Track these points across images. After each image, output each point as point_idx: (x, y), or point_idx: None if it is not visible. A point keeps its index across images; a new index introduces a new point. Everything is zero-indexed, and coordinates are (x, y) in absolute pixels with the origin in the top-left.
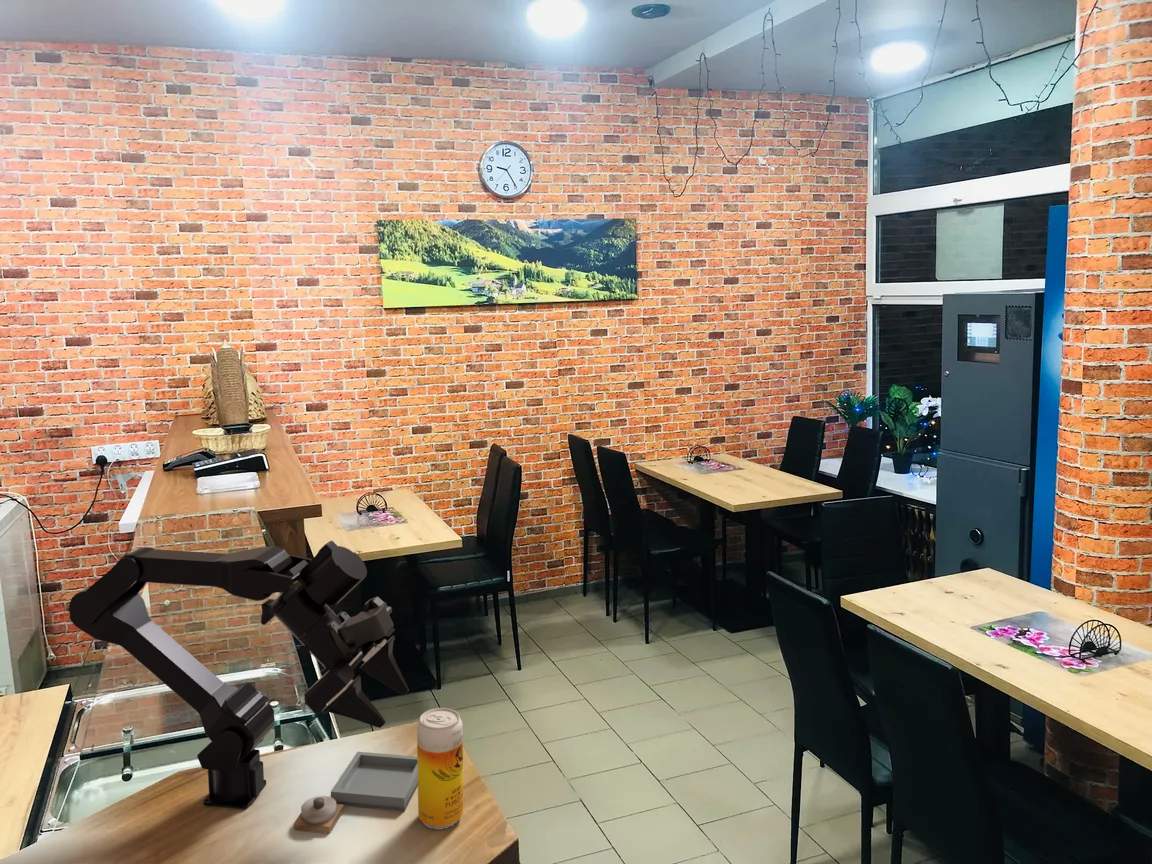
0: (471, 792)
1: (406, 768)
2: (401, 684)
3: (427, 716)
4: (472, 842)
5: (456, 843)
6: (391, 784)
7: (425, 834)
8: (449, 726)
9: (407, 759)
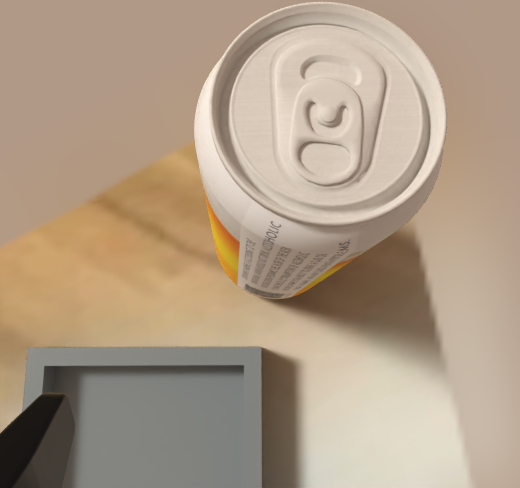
0: (149, 191)
1: None
2: (37, 463)
3: (305, 191)
4: None
5: None
6: (152, 423)
7: None
8: (409, 37)
9: None
